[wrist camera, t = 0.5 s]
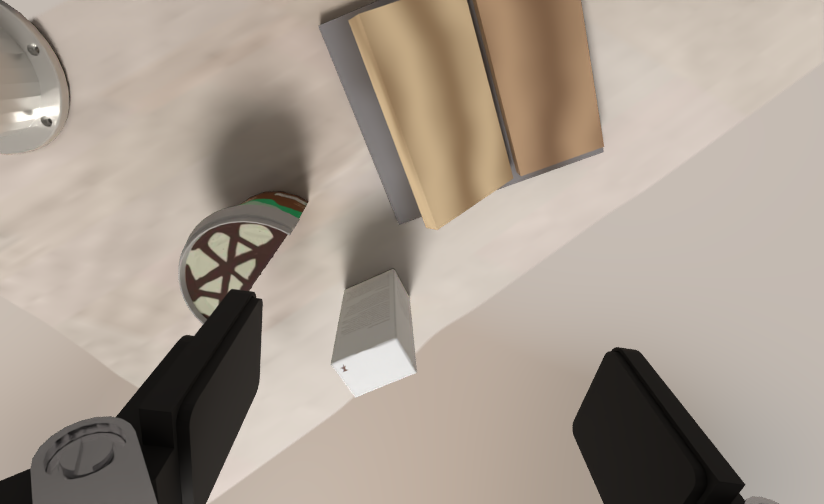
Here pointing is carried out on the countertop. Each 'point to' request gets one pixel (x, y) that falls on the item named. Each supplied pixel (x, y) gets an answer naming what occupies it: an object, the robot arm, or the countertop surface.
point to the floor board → (495, 89)
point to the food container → (234, 248)
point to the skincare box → (374, 335)
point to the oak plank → (435, 102)
